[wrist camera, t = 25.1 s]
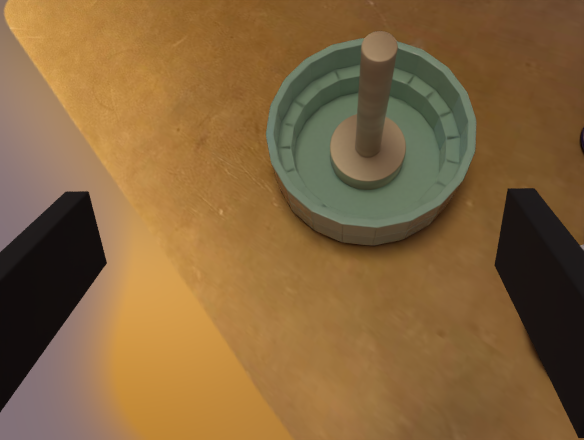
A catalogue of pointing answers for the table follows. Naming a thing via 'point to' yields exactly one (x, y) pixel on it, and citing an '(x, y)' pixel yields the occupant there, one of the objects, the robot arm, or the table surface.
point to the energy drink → (582, 138)
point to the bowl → (401, 110)
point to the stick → (370, 122)
